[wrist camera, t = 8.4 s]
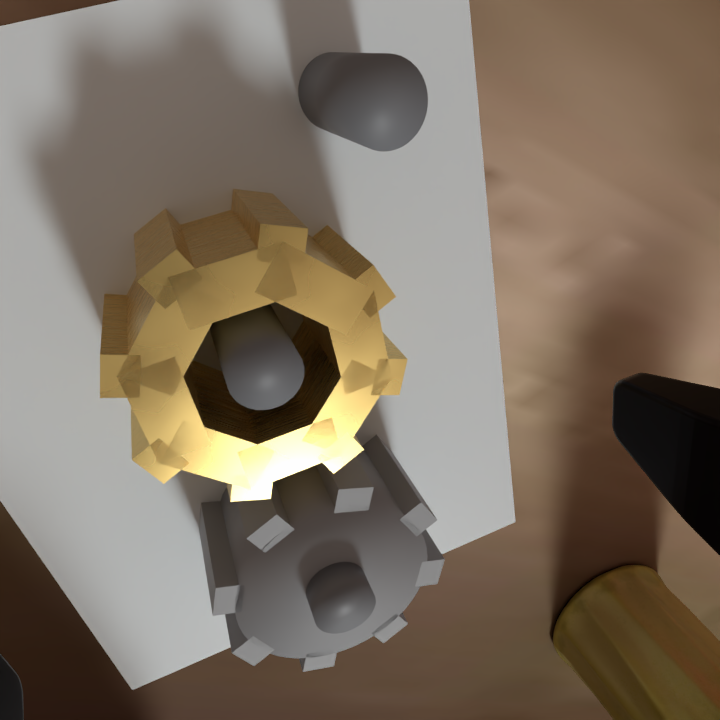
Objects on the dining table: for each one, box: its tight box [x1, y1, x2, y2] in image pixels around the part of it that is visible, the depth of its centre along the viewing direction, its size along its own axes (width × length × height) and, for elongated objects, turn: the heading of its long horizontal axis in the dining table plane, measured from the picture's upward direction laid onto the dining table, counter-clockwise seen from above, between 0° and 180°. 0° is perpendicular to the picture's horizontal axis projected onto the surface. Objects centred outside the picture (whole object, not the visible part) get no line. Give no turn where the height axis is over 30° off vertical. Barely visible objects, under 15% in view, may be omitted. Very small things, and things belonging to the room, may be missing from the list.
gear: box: [100, 189, 408, 502], centre depth 14 cm, size 6×6×3 cm
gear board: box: [0, 0, 515, 690], centre depth 15 cm, size 14×18×5 cm
